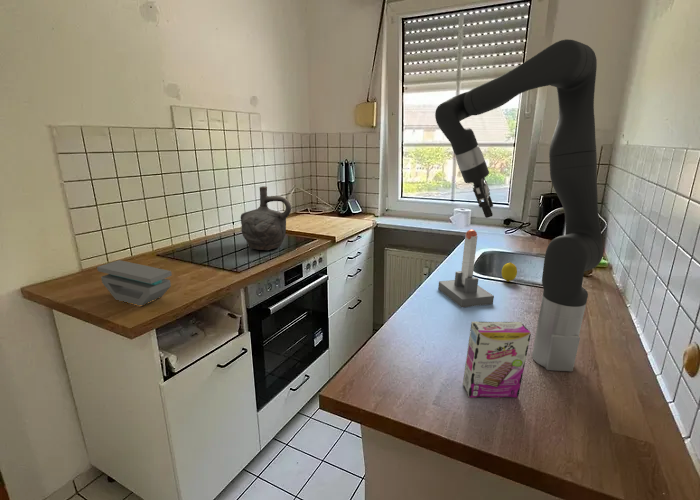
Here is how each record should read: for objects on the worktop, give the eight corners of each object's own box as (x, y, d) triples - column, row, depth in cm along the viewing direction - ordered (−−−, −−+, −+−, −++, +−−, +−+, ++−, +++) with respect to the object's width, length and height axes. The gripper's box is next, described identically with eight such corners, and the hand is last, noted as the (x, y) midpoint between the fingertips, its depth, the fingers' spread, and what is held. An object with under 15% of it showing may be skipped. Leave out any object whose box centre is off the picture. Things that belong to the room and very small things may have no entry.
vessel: (292, 241, 196) (290, 183, 187) (292, 253, 176) (290, 190, 167) (245, 242, 193) (241, 183, 184) (239, 255, 172) (234, 190, 163)
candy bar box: (469, 399, 81) (478, 332, 76) (462, 384, 85) (469, 320, 80) (520, 399, 81) (532, 332, 76) (510, 384, 86) (520, 320, 81)
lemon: (516, 285, 143) (519, 265, 140) (501, 283, 144) (504, 264, 142) (513, 279, 148) (516, 260, 146) (499, 278, 149) (501, 259, 147)
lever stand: (492, 304, 126) (495, 282, 124) (461, 307, 123) (464, 285, 121) (466, 286, 141) (469, 266, 139) (438, 288, 138) (440, 268, 136)
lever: (473, 287, 130) (480, 230, 124) (464, 288, 129) (470, 231, 123) (466, 283, 133) (473, 228, 127) (457, 284, 132) (464, 228, 126)
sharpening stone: (103, 296, 128) (97, 266, 124) (124, 288, 134) (119, 260, 131) (155, 311, 118) (150, 279, 115) (175, 301, 125) (171, 271, 122)
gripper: (483, 165, 104) (502, 216, 109) (485, 154, 116) (502, 200, 121) (457, 175, 108) (476, 224, 112) (461, 163, 120) (478, 208, 124)
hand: (489, 211), depth 117 cm, fingers open, 8 cm apart
